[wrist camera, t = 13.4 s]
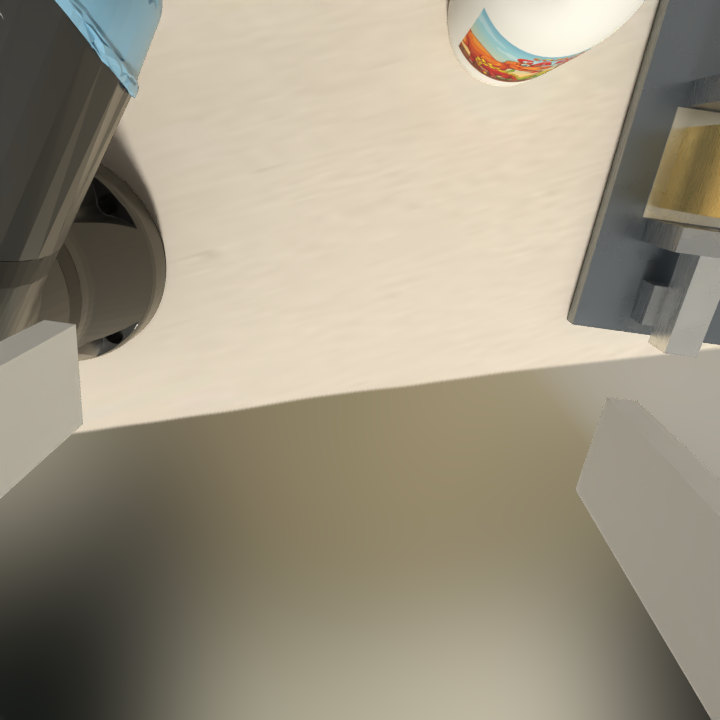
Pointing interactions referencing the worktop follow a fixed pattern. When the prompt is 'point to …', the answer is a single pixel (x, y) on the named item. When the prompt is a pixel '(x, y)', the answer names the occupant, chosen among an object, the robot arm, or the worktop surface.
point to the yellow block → (696, 173)
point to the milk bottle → (529, 34)
